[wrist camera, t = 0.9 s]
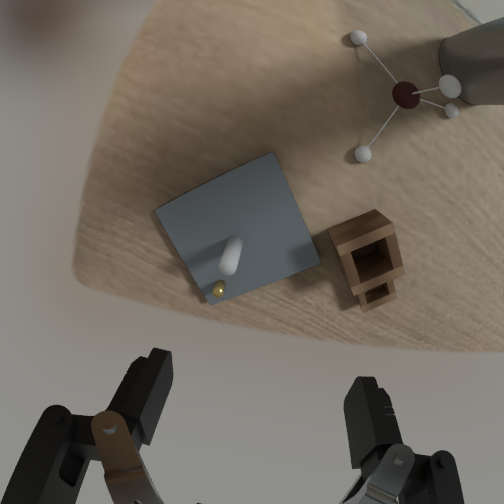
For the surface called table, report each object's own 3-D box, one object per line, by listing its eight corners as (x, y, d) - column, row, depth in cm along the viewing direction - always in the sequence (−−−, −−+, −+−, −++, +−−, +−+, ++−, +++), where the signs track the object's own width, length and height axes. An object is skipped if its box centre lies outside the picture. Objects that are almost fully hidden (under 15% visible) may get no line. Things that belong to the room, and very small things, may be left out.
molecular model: (352, 161, 28) (401, 179, 16) (347, 32, 22) (387, -18, 10) (450, 172, 27) (520, 197, 15) (448, 56, 21) (513, 37, 9)
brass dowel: (222, 278, 32) (219, 287, 30) (227, 286, 33) (225, 295, 31) (213, 281, 33) (210, 290, 31) (218, 290, 33) (215, 299, 31)
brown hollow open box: (375, 209, 29) (392, 222, 24) (396, 287, 33) (410, 309, 28) (327, 229, 30) (336, 246, 26) (354, 305, 34) (363, 329, 29)
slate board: (272, 151, 28) (273, 155, 21) (319, 258, 32) (330, 291, 25) (158, 207, 31) (130, 228, 24) (212, 300, 35) (199, 336, 28)
